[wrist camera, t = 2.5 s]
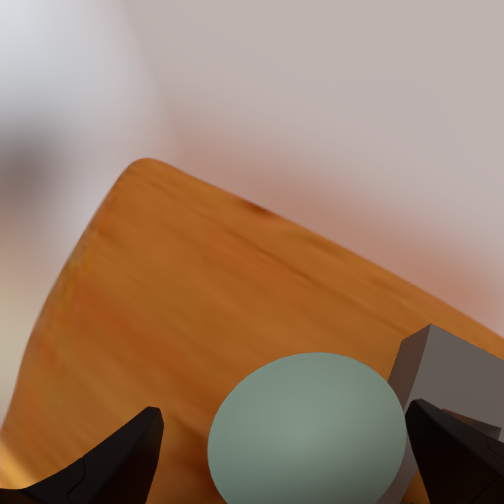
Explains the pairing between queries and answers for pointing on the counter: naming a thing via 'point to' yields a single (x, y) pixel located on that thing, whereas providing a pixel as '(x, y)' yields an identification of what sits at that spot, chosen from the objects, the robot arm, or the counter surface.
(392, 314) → the counter surface
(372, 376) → the teal peg
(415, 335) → the socket block
